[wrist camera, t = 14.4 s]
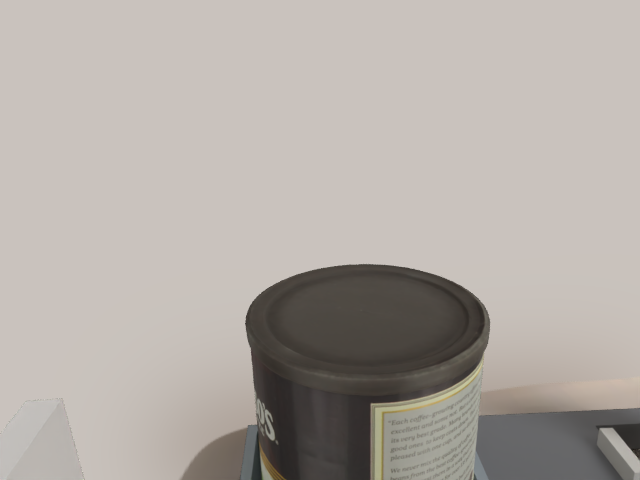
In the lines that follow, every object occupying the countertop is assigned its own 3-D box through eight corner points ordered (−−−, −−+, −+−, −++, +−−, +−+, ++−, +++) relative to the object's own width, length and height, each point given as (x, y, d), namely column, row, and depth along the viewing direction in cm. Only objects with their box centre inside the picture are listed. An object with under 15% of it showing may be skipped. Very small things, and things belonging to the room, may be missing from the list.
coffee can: (252, 656, 23) (220, 376, 18) (279, 476, 33) (263, 264, 28) (494, 662, 22) (526, 375, 18) (448, 477, 32) (461, 261, 27)
